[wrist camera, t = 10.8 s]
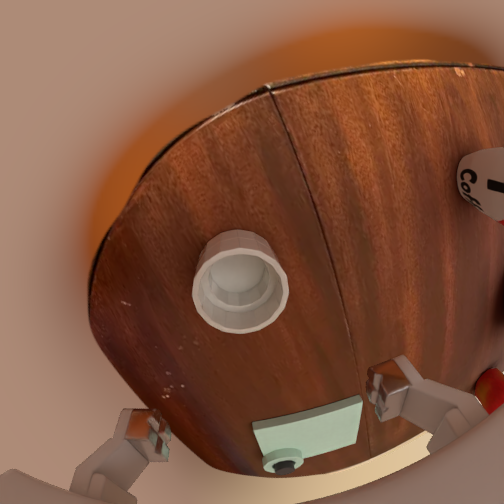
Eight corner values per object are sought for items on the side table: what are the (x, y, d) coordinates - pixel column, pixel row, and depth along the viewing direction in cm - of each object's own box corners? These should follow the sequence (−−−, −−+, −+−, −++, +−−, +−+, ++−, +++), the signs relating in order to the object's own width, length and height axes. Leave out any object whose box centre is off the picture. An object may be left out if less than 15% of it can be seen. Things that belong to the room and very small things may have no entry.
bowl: (209, 305, 23) (207, 340, 18) (190, 237, 21) (180, 260, 16) (280, 290, 23) (293, 322, 19) (268, 220, 21) (280, 239, 17)
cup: (438, 163, 21) (518, 177, 11) (474, 128, 20) (543, 133, 10) (461, 227, 23) (527, 258, 14) (493, 189, 22) (555, 208, 13)
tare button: (275, 468, 30) (276, 476, 29) (272, 461, 30) (274, 470, 28) (293, 464, 31) (295, 472, 29) (292, 457, 30) (294, 466, 28)
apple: (468, 398, 37) (493, 432, 26) (469, 382, 35) (500, 419, 24) (494, 373, 37) (521, 403, 25) (497, 354, 34) (529, 386, 23)
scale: (264, 460, 33) (267, 475, 31) (249, 422, 29) (251, 441, 26) (352, 437, 34) (358, 451, 31) (359, 394, 30) (367, 410, 27)
